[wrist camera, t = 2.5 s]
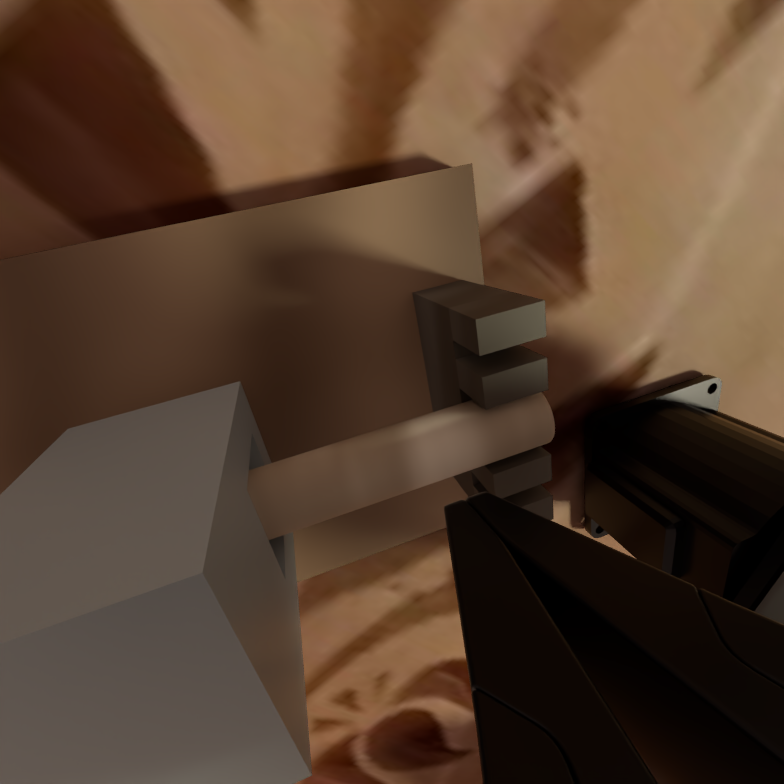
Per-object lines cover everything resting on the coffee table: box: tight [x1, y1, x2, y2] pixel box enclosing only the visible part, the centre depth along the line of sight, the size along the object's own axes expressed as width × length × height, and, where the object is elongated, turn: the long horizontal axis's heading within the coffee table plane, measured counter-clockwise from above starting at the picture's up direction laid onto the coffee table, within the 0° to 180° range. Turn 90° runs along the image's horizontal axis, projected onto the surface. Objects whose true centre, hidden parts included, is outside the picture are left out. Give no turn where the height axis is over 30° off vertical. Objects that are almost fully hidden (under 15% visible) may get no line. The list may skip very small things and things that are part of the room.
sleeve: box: [0, 381, 312, 784], centre depth 8 cm, size 4×4×6 cm
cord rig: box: [0, 163, 555, 582], centre depth 9 cm, size 25×12×6 cm, turn 101°
